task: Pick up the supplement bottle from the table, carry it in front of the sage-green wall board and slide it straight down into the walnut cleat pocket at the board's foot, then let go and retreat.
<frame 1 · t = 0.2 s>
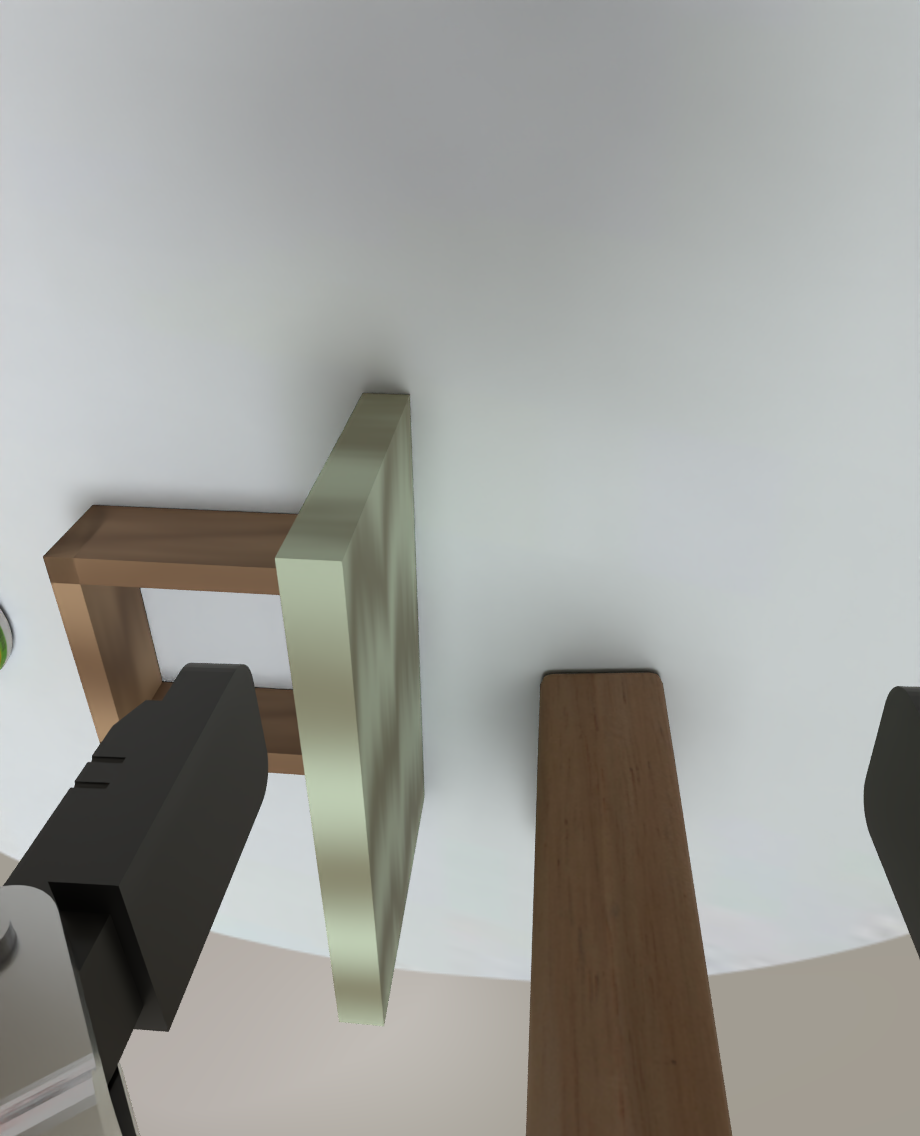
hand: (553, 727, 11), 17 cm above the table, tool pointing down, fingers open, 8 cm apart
wooden block: (601, 753, 35), on the table
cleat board: (318, 620, 32), on the table
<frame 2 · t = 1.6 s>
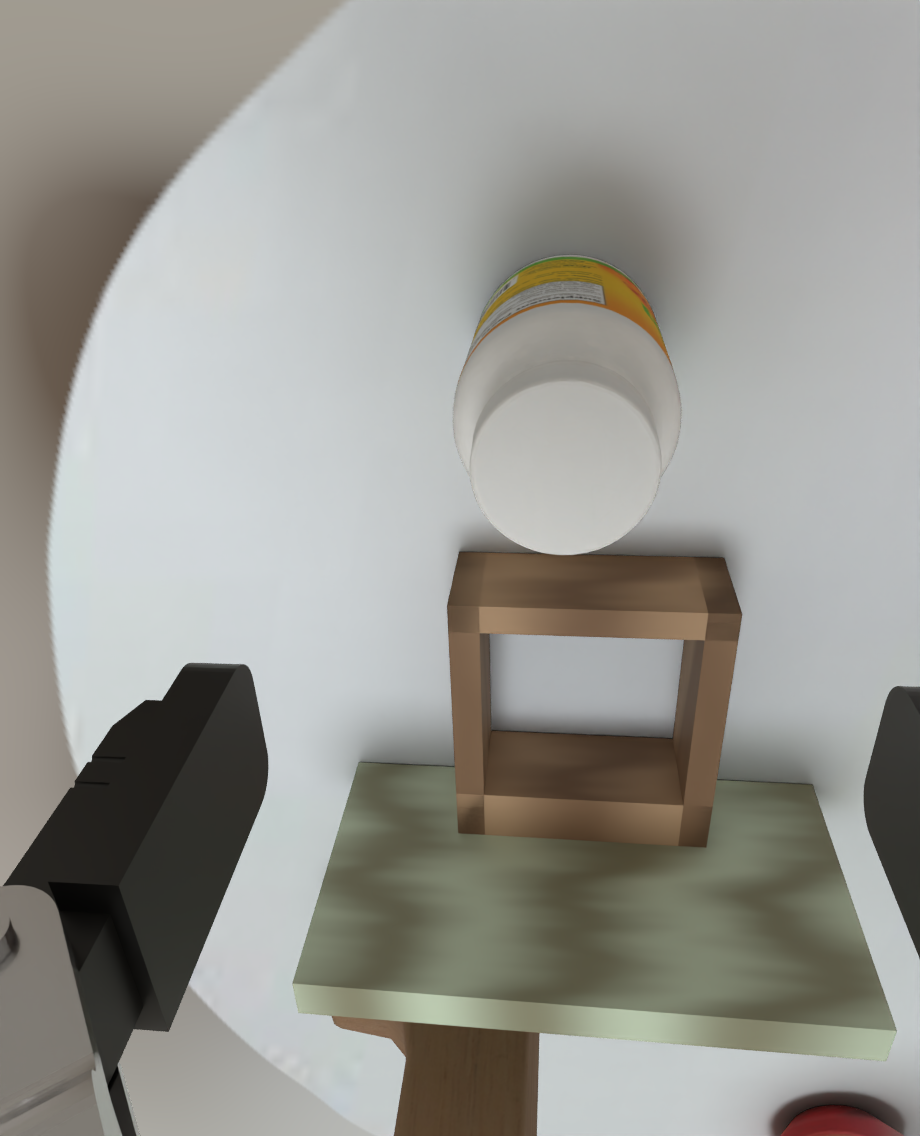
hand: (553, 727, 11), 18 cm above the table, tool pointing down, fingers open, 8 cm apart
supplement bottle: (565, 342, 26), on the table
wooden block: (441, 905, 40), on the table
liquor: (833, 1124, 45), on the table
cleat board: (581, 729, 33), on the table
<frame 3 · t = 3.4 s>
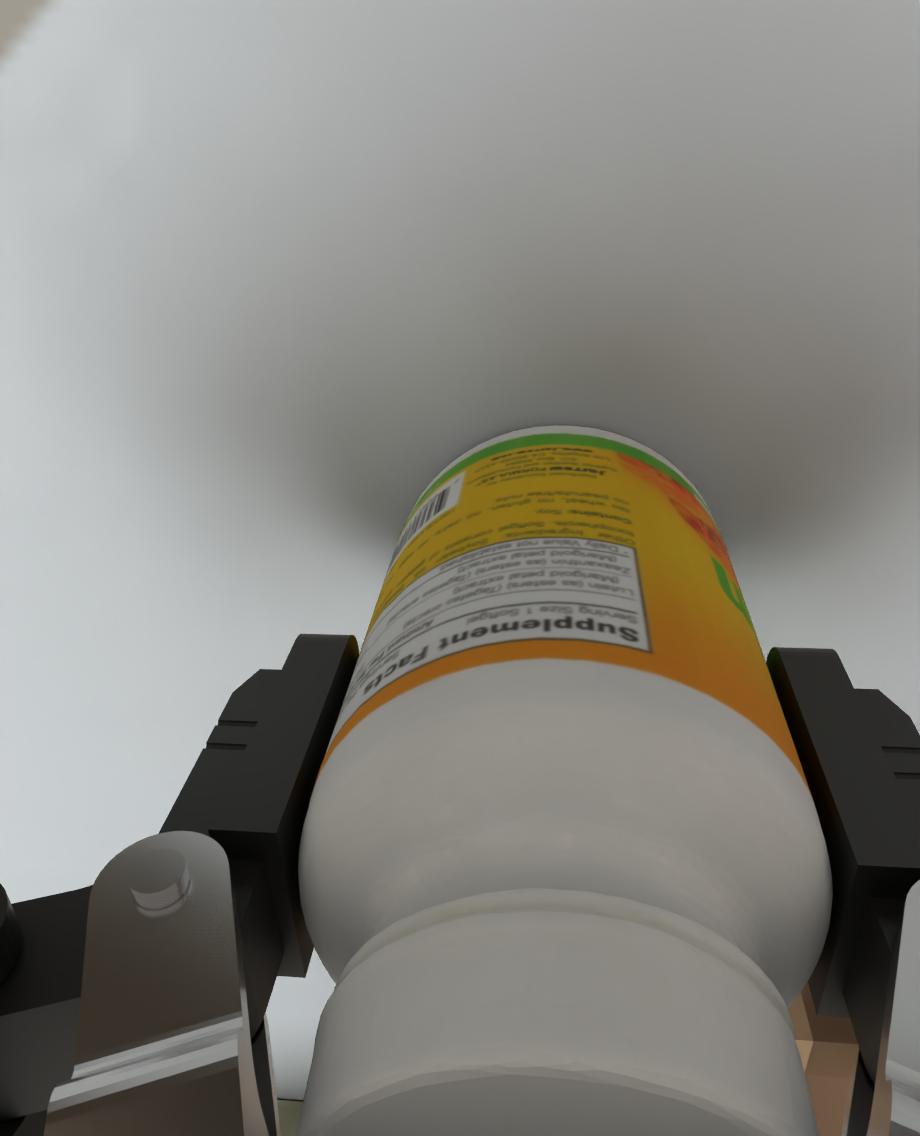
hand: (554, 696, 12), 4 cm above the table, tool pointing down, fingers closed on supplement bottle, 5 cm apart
supplement bottle: (557, 561, 15), on the table, touching gripper
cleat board: (586, 1078, 22), on the table
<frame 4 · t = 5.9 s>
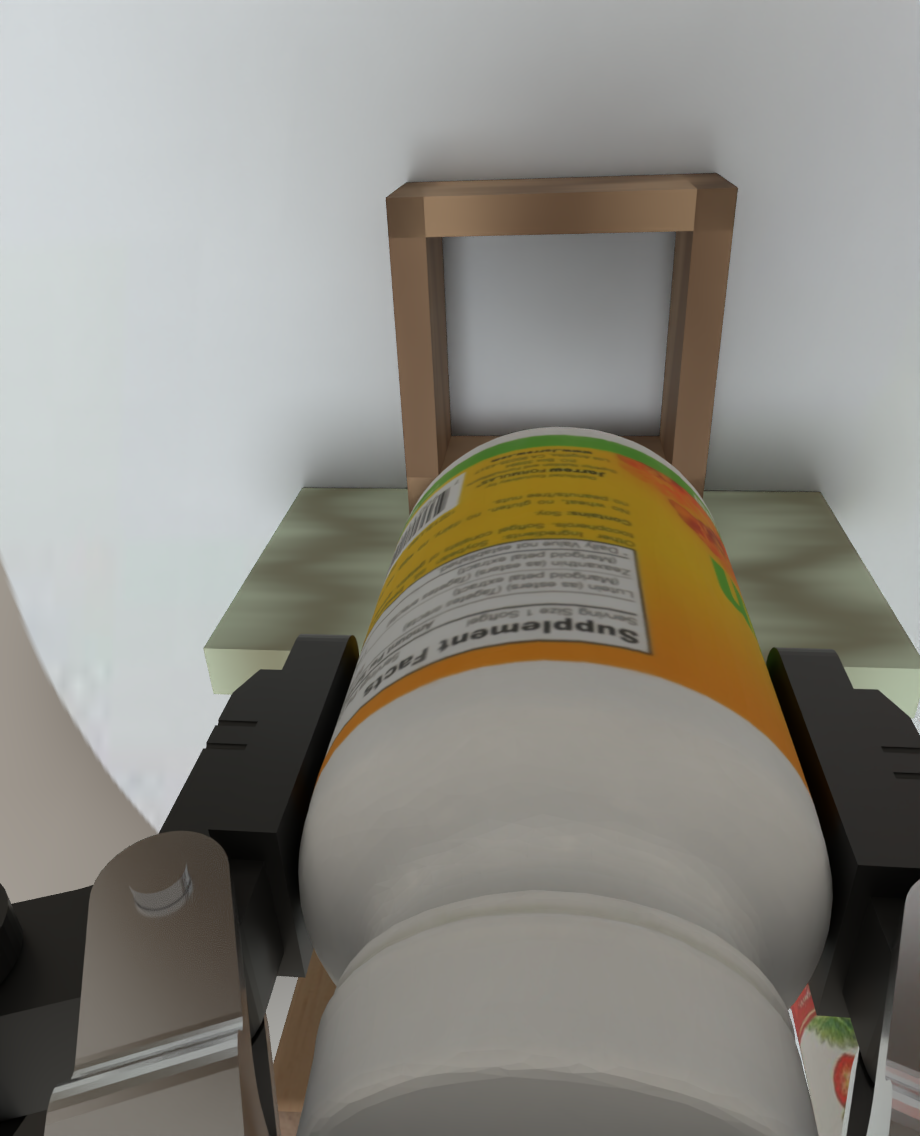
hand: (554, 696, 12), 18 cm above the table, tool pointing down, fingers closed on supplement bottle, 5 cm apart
supplement bottle: (557, 562, 15), point 15 cm above the table, touching gripper
wooden block: (402, 680, 35), on the table
liquor: (843, 949, 41), on the table
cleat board: (554, 428, 29), on the table
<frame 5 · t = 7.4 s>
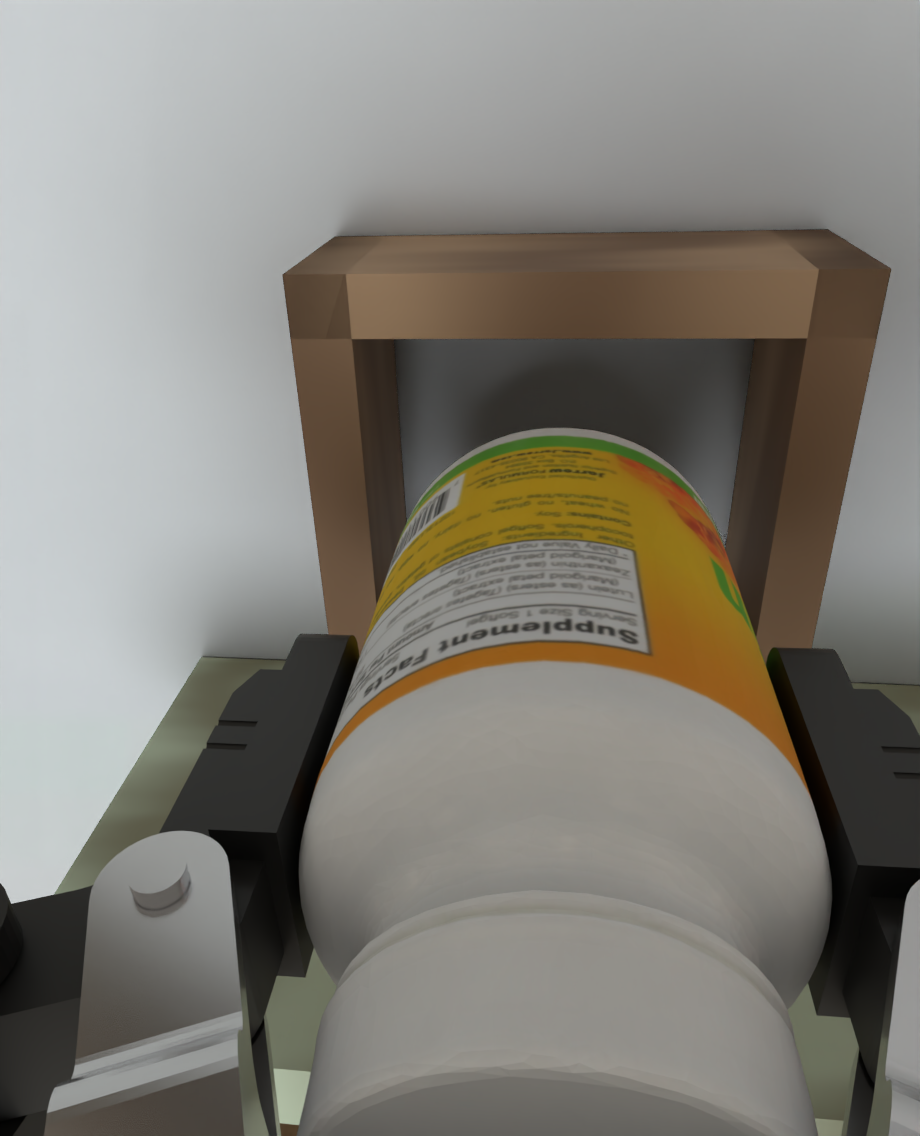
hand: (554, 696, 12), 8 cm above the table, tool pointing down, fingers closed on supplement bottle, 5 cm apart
supplement bottle: (557, 562, 15), point 4 cm above the table, touching gripper
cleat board: (561, 592, 20), on the table
when the fingers open (5 cm above the table, at t = 8.4 s): supplement bottle drops 1 cm, resting in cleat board.
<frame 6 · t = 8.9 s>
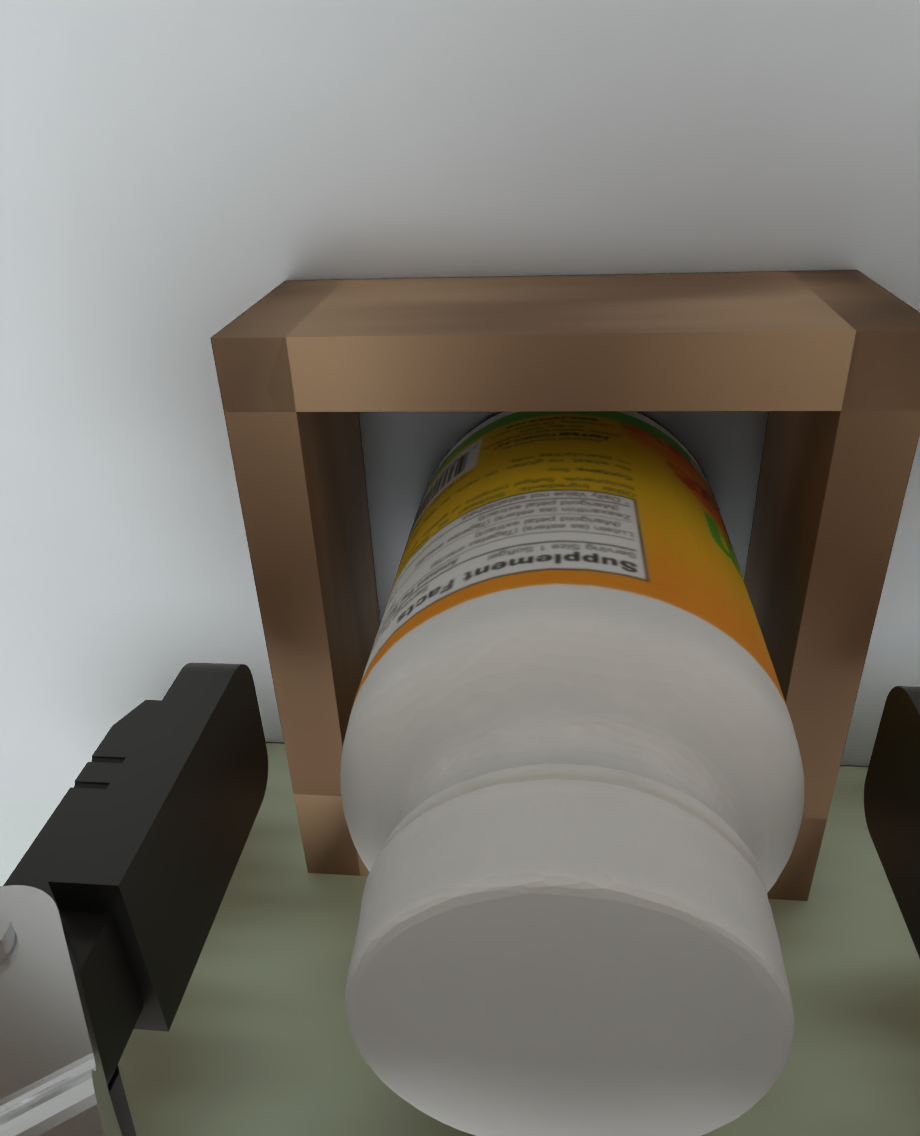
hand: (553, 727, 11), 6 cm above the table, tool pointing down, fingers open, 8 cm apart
supplement bottle: (565, 525, 16), resting in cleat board
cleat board: (553, 670, 18), on the table
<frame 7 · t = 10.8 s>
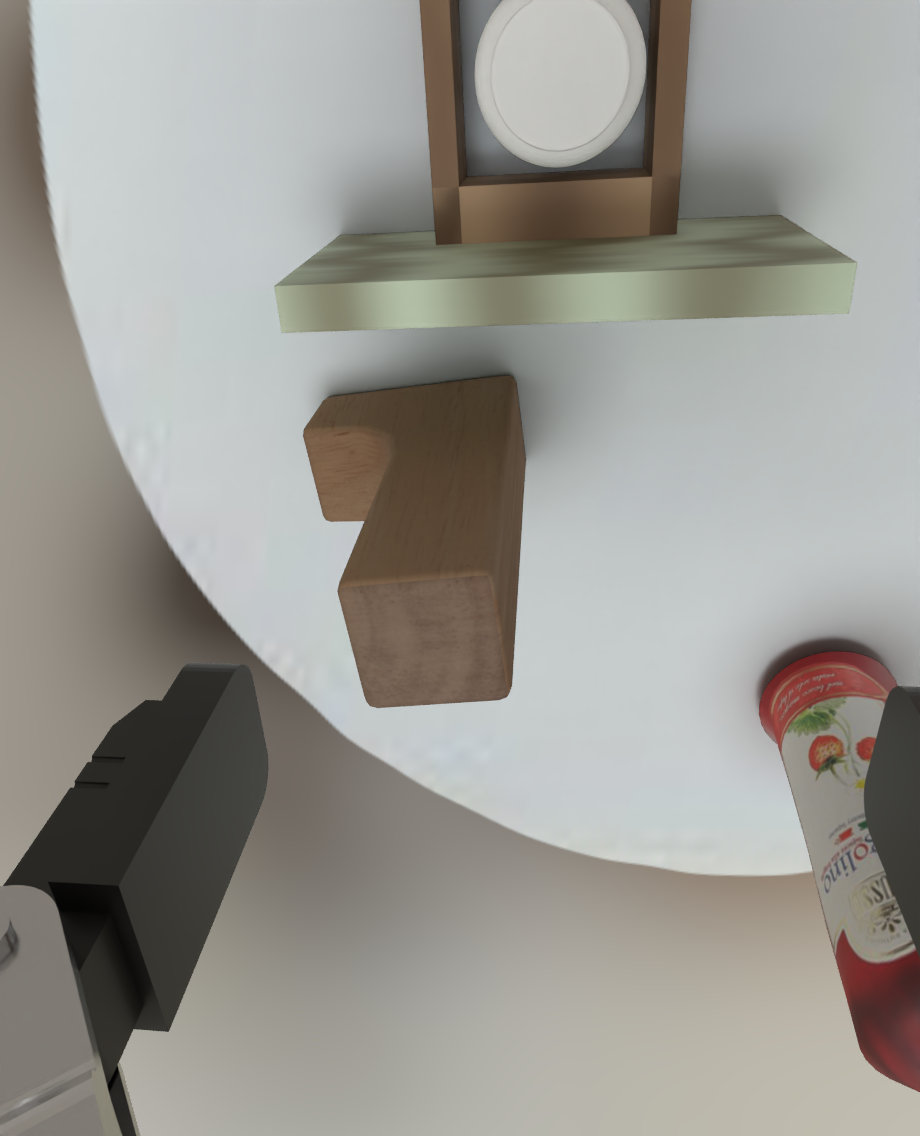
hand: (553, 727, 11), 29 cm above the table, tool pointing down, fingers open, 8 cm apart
supplement bottle: (558, 72, 33), resting in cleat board
wooden block: (426, 428, 41), on the table
liquor: (820, 688, 46), on the table
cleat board: (554, 165, 34), on the table
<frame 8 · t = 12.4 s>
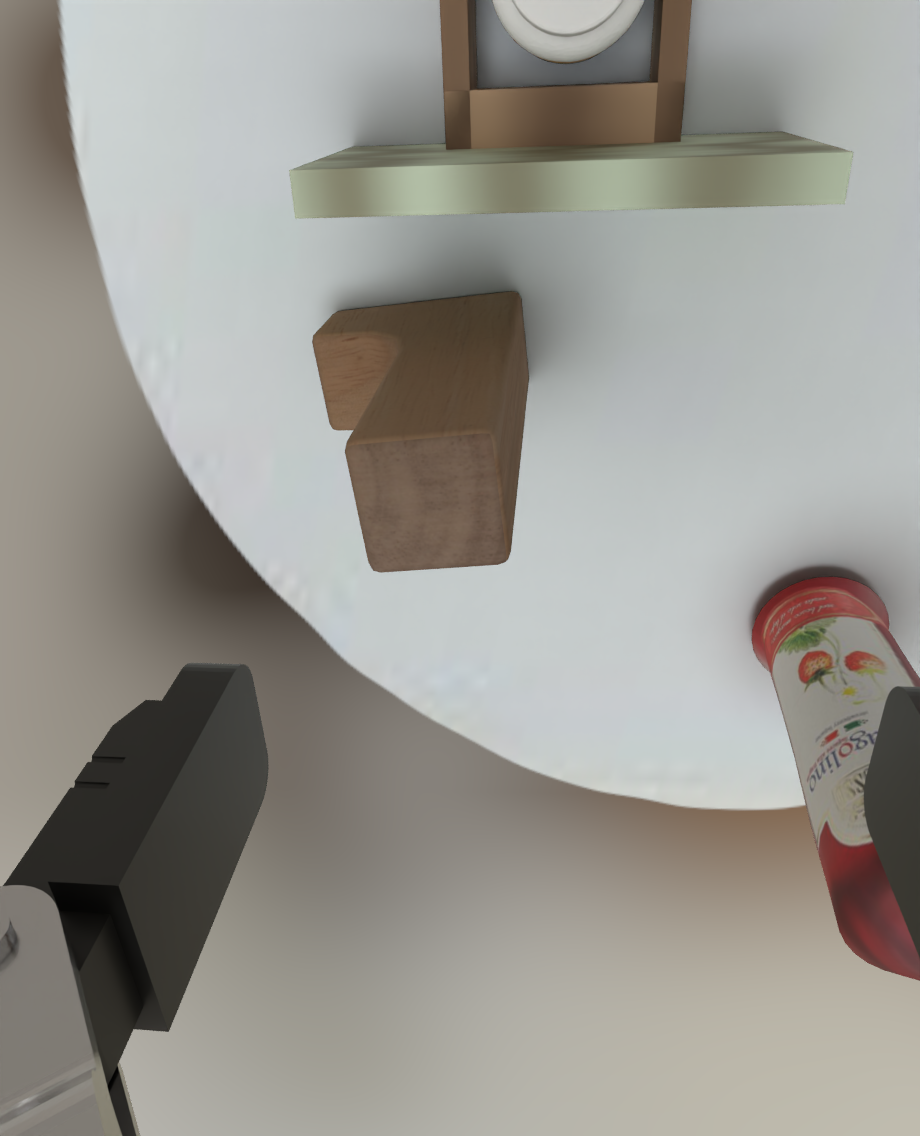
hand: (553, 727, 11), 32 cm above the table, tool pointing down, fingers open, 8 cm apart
wooden block: (432, 345, 42), on the table
liquor: (812, 617, 47), on the table
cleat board: (562, 78, 35), on the table
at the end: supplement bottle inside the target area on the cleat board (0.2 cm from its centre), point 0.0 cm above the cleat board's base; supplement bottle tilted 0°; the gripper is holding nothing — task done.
